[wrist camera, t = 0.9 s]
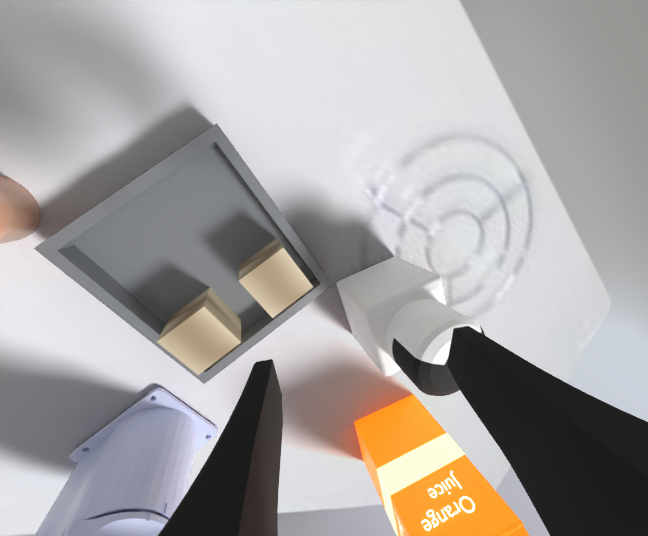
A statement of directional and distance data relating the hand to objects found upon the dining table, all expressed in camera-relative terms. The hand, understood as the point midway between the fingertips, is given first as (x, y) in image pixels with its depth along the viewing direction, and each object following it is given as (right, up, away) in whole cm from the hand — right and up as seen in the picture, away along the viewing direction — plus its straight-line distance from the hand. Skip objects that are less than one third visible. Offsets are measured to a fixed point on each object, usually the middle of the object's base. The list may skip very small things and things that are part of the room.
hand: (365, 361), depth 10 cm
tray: (-11, +4, +12) cm, 17 cm away
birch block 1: (-12, -1, +12) cm, 17 cm away
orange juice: (+7, -18, +24) cm, 31 cm away
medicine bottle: (+4, +1, +18) cm, 18 cm away
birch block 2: (-6, +4, +13) cm, 15 cm away
